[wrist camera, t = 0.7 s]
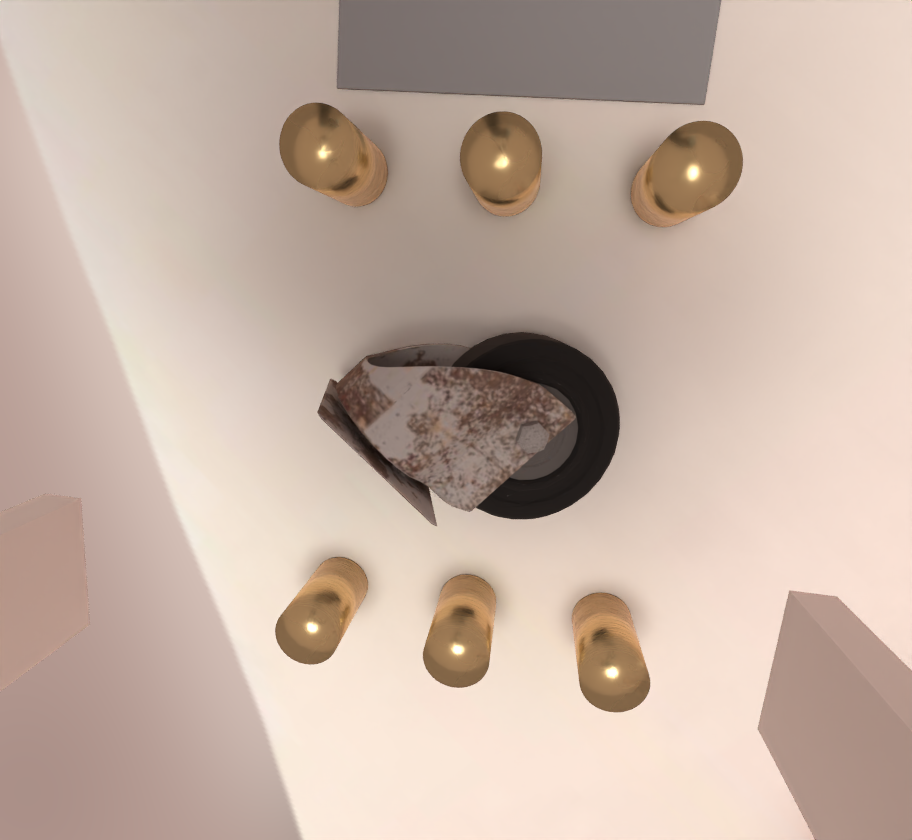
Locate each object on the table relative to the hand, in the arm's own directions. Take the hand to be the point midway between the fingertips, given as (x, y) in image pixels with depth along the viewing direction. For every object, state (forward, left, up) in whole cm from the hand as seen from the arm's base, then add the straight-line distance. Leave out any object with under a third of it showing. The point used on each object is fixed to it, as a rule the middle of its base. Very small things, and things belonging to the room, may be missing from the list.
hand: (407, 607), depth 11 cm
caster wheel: (0, 0, -19) cm, 19 cm away
